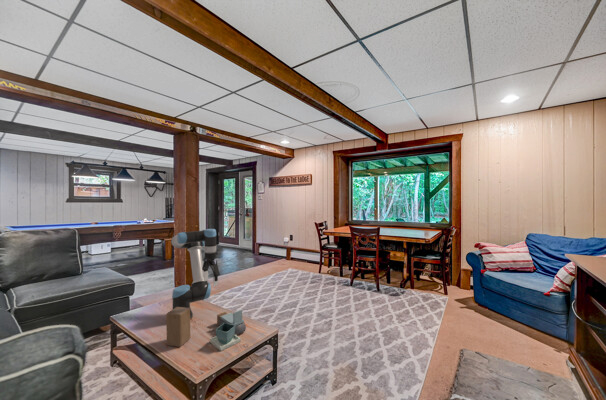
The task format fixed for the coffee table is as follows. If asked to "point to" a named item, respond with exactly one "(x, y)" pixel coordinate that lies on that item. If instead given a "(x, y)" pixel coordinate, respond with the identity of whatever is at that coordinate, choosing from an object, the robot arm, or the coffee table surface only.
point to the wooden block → (178, 326)
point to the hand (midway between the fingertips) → (210, 283)
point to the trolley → (234, 321)
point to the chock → (220, 317)
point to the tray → (221, 345)
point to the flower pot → (225, 333)
